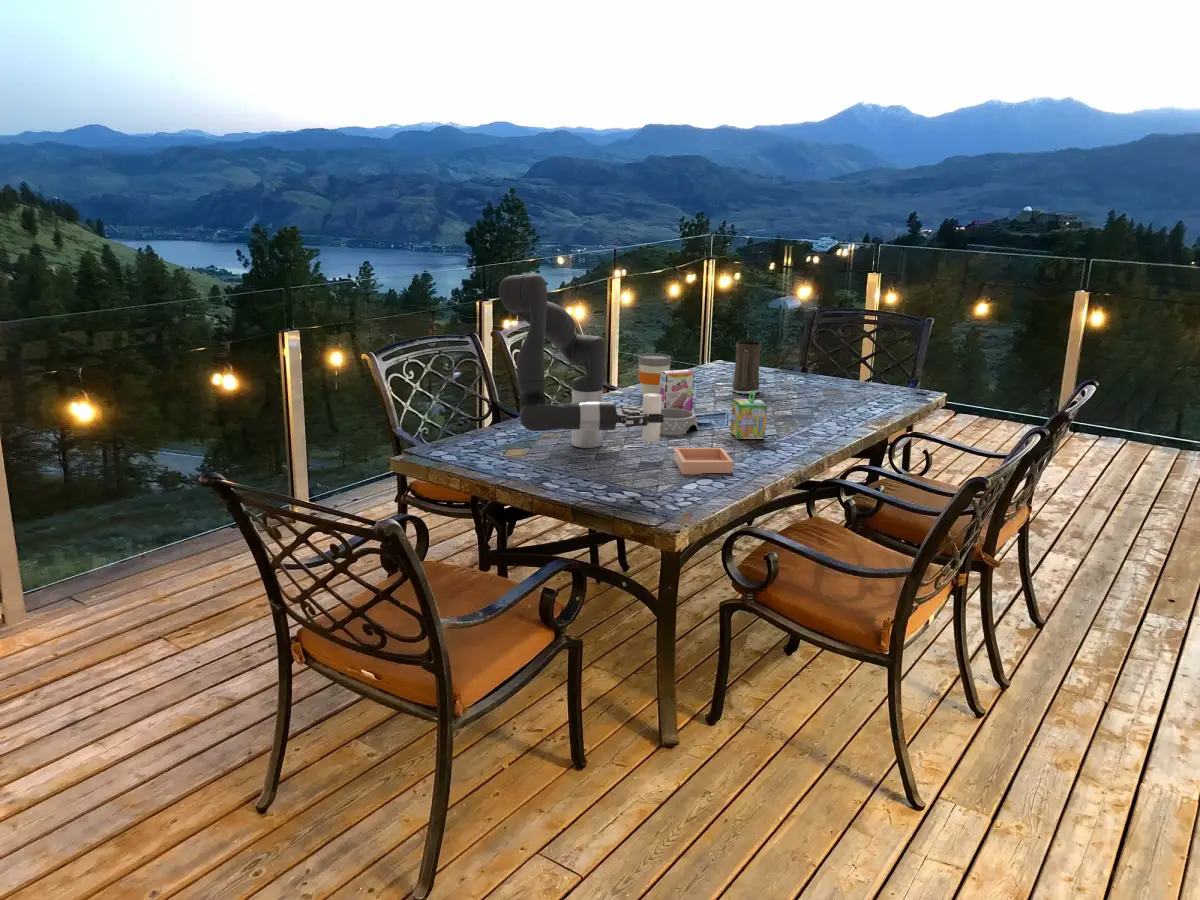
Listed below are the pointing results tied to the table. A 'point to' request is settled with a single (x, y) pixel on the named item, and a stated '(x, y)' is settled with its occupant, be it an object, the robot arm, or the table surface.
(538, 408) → the robot arm
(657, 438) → the ceramic canister
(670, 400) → the candy bar box
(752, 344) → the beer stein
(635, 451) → the table surface
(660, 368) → the reusable coffee cup
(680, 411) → the dog bowl
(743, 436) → the chalk box
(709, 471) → the terracotta tray
